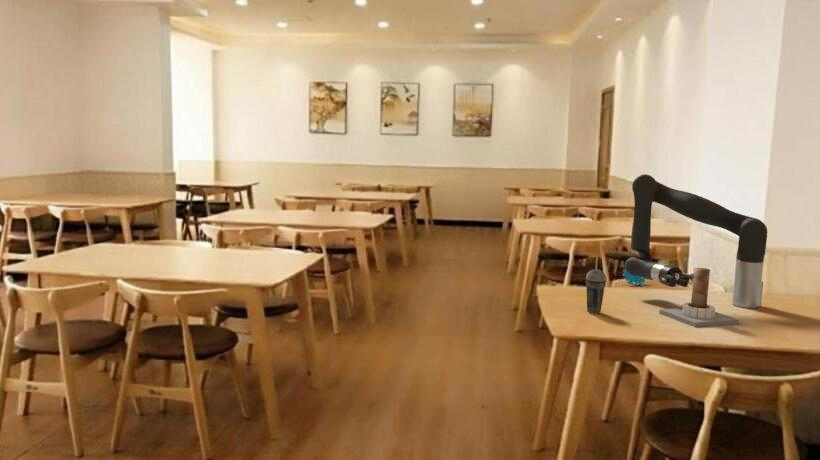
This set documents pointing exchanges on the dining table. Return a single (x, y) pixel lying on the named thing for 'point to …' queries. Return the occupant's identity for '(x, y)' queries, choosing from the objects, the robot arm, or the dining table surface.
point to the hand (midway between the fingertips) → (697, 283)
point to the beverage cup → (595, 289)
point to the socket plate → (699, 320)
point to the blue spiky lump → (633, 279)
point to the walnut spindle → (700, 288)
